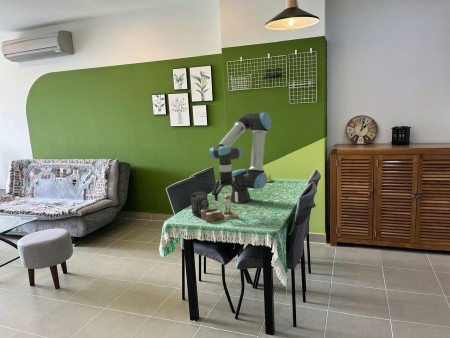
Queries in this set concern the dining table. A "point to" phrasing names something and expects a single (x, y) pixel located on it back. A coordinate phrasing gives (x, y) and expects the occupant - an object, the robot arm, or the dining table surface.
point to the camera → (199, 202)
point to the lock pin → (227, 205)
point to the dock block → (211, 215)
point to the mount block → (232, 215)
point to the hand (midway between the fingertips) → (227, 203)
